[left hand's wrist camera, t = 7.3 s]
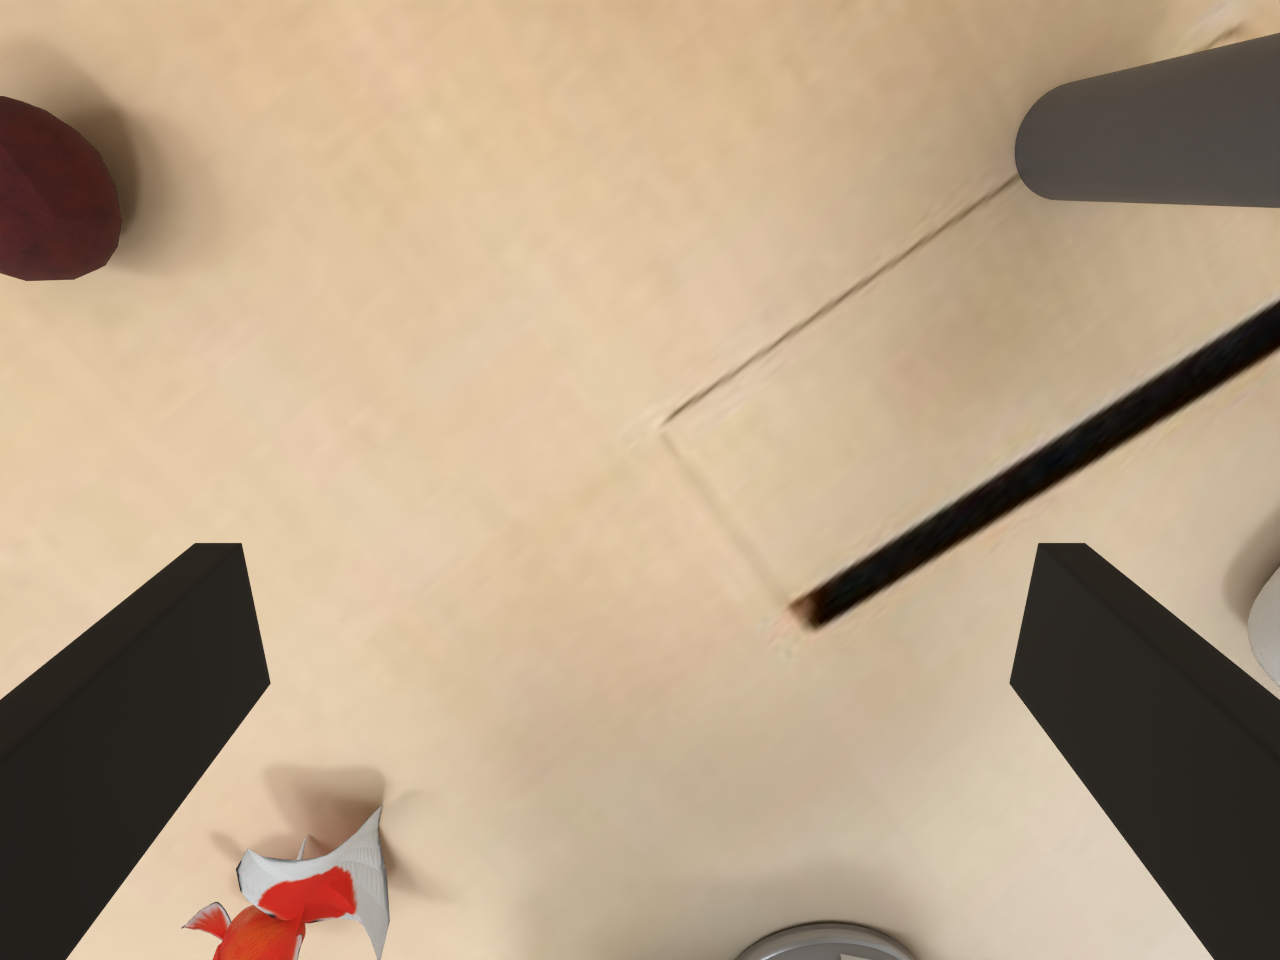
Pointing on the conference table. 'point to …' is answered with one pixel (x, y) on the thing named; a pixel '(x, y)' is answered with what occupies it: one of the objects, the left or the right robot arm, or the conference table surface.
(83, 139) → the dark maroon ball
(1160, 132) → the dark grey cylinder
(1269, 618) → the projector
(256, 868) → the fish
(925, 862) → the conference table surface
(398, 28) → the conference table surface
